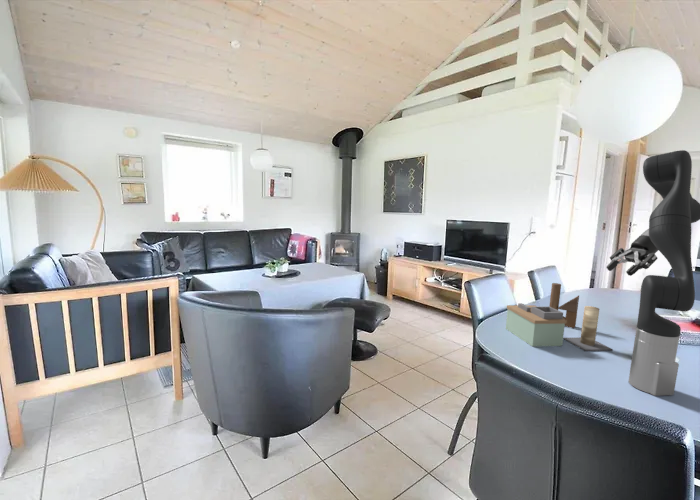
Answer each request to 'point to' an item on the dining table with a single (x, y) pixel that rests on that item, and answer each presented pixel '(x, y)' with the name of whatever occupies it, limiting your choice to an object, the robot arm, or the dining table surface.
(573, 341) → the charcoal mat
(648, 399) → the dining table surface
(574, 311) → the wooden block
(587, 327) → the tan ridged cylinder
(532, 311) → the pale green box
